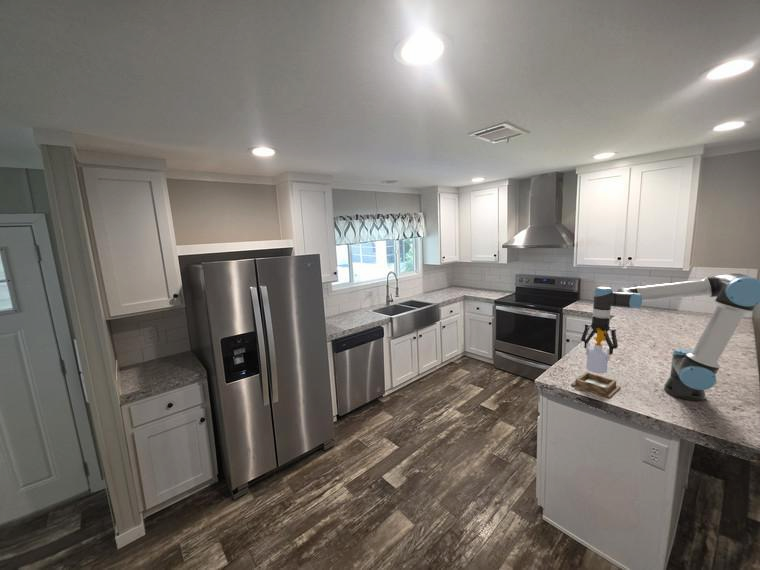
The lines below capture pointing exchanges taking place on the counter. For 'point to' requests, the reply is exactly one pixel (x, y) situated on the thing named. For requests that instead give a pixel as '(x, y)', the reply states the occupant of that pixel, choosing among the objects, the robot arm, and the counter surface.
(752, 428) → the counter surface
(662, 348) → the counter surface
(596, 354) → the orange capped white bottle
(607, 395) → the picture frame
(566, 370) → the counter surface
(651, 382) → the counter surface
